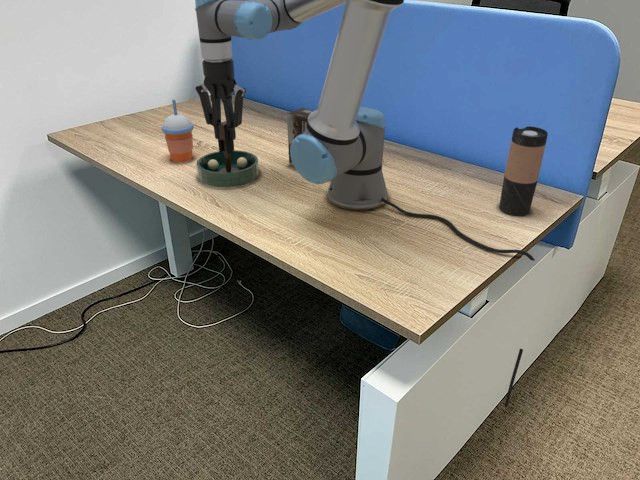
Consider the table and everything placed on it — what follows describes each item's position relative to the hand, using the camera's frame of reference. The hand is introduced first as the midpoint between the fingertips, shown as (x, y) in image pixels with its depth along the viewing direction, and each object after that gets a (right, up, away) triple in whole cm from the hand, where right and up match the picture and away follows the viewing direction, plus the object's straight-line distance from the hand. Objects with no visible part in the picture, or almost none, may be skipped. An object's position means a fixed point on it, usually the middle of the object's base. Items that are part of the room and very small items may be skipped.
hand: (226, 150), depth 139 cm
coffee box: (+21, -3, +13) cm, 25 cm away
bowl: (-1, -6, +8) cm, 10 cm away
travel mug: (+73, -16, -9) cm, 75 cm away
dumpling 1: (-6, -4, +10) cm, 12 cm away
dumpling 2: (+2, -3, +12) cm, 12 cm away
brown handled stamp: (0, -7, +4) cm, 8 cm away
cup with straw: (-17, 0, +18) cm, 25 cm away
